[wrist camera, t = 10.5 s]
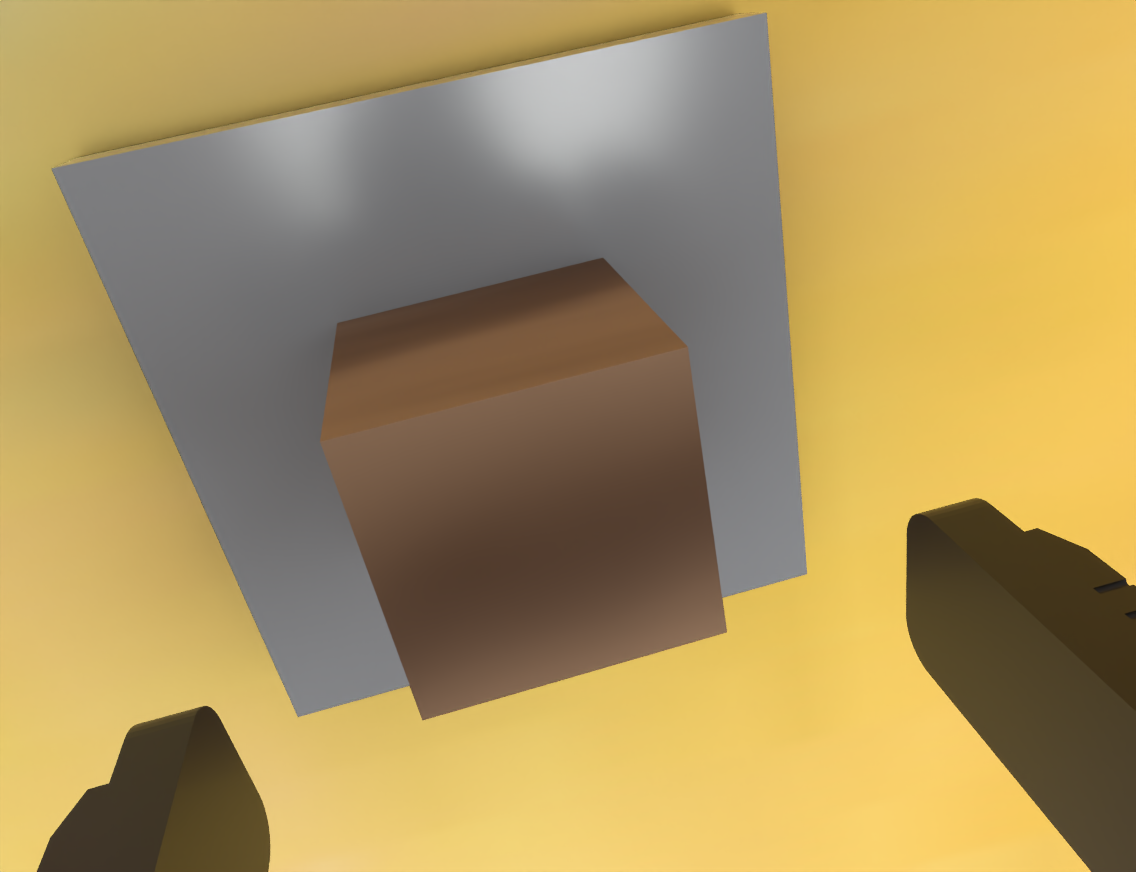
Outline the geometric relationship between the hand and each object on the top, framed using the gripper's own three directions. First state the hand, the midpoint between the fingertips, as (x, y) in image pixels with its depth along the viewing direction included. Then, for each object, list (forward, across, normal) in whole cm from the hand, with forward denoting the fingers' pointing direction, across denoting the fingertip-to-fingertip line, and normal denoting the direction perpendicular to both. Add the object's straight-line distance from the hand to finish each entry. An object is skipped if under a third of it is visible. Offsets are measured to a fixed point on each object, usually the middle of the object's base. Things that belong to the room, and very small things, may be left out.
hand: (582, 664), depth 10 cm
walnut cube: (+8, 0, 0) cm, 8 cm away
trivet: (+9, 0, 0) cm, 9 cm away
